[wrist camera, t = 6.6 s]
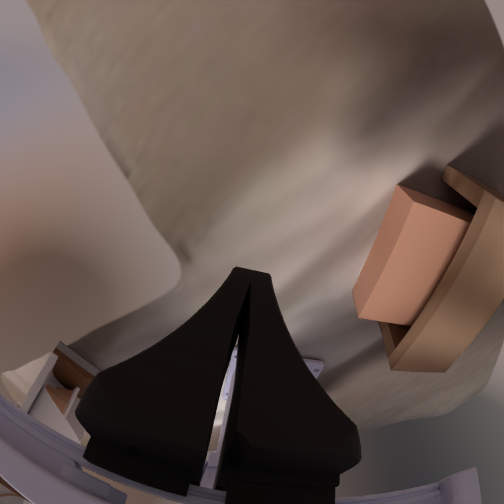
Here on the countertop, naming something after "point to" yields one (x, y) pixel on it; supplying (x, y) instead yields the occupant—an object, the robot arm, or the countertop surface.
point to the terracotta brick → (409, 257)
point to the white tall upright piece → (55, 402)
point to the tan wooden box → (456, 289)
